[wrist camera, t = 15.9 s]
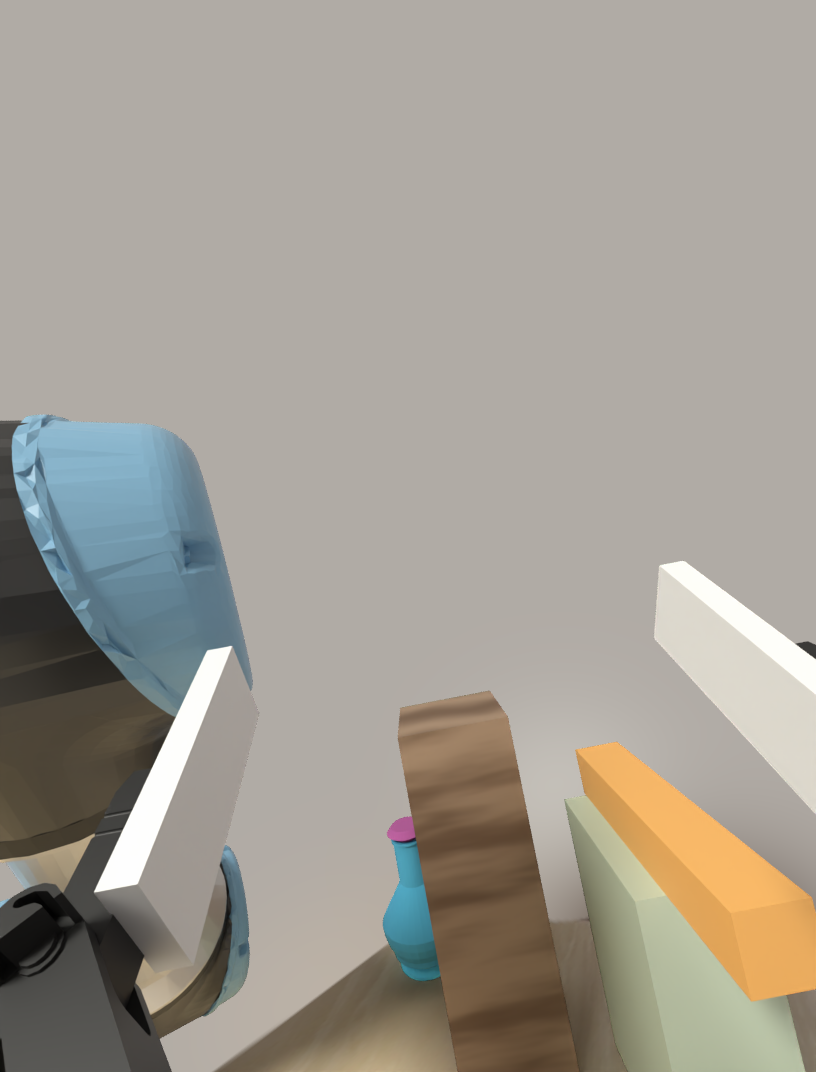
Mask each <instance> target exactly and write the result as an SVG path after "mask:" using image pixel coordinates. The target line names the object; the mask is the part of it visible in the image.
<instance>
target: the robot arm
mask: <svg viewBox="0 0 816 1072" xmlns="http://www.w3.org/2000/svg"><path fill="white" fill-rule="evenodd" d="M654 639H655V640H656V641H657V642H658V643H659V644H660V645H661V646H662V647H663V649H664V650H665V651H666V652H667V653H668V654H669V655H670V656H671V657H672V658H673V659H674V661H675V662H676V663H677V664H678V665H679V666H680V667H681V668H682V669H683V670H684V671H685V672H686V674H687V675H688V676H689V677H690V678H691V679H692V680H693V681H694V682H695V683H696V685H697V686H698V687H699V688H700V689H701V690H702V691H703V692H704V693H705V694H706V695H707V697H708V698H709V699H710V700H711V701H712V702H713V703H714V704H715V705H716V706H717V707H718V708H719V710H720V711H721V712H722V713H723V714H724V715H725V716H726V717H727V718H728V719H729V720H730V722H731V723H732V724H733V725H734V726H735V727H736V728H737V729H738V730H739V731H740V732H741V734H742V735H743V736H744V737H745V738H746V739H747V740H748V741H749V742H750V743H751V744H752V745H753V746H754V748H755V749H756V750H757V751H758V752H759V753H760V754H761V755H762V756H763V758H764V759H765V760H766V761H767V762H768V763H769V764H770V765H771V766H772V767H773V768H774V769H775V771H776V772H777V773H778V774H779V775H780V776H781V777H782V778H783V779H784V780H785V781H786V783H787V784H789V786H790V787H791V788H792V789H793V790H794V791H795V792H796V793H797V794H798V796H799V797H800V798H801V799H802V800H803V801H804V802H805V803H806V804H807V805H808V806H809V807H810V809H811V810H812V811H813V812H814V813H815V814H816V645H815V644H812V643H810V642H803V643H797V644H794V643H793V642H792V641H790V640H789V639H788V638H786V637H785V636H784V635H782V634H781V633H779V632H778V631H777V630H776V629H774V628H773V627H772V626H770V625H769V624H768V623H766V622H765V621H764V620H762V619H761V618H760V617H758V616H757V615H756V614H754V613H753V612H752V611H750V610H749V609H748V608H746V607H745V606H744V605H742V604H741V603H740V602H738V601H737V600H735V599H734V598H733V597H731V596H730V595H729V594H728V593H726V592H725V591H723V590H722V589H721V588H719V587H718V586H717V585H715V584H714V583H713V582H711V581H710V580H709V579H707V578H706V577H705V576H703V575H702V574H701V573H699V572H698V571H697V570H695V569H694V568H693V567H691V566H690V565H689V564H687V563H686V562H685V561H681V562H675V563H671V564H665V565H659V576H658V591H657V604H656V618H655V632H654ZM252 682H253V680H252V673H251V668H250V663H249V658H248V654H247V649H246V645H245V640H244V636H243V632H242V627H241V623H240V620H239V615H238V611H237V607H236V602H235V598H234V595H233V590H232V586H231V582H230V578H229V574H228V570H227V566H226V562H225V558H224V554H223V550H222V546H221V542H220V538H219V535H218V531H217V527H216V523H215V519H214V515H213V512H212V508H211V504H210V501H209V497H208V494H207V490H206V487H205V483H204V480H203V476H202V473H201V470H200V467H199V464H198V462H197V459H196V457H195V455H194V453H193V452H192V450H191V449H190V448H189V446H188V445H187V444H186V443H185V442H184V441H183V440H182V439H180V438H179V437H178V436H177V435H175V434H174V433H172V432H170V431H168V430H166V429H163V428H160V427H158V426H154V425H148V424H134V423H99V422H71V421H69V420H67V419H65V418H61V417H56V416H53V415H33V416H27V417H26V418H25V419H24V420H23V421H0V863H4V862H5V863H6V864H7V865H8V867H9V868H10V869H11V871H12V872H13V874H14V875H15V876H16V878H17V879H18V880H19V882H20V883H21V884H22V886H23V887H24V889H25V890H24V891H22V892H20V893H19V894H17V895H15V896H14V897H12V898H11V899H7V900H4V901H1V902H0V1072H172V1071H171V1069H170V1066H169V1063H168V1061H167V1058H166V1055H165V1053H164V1050H163V1048H162V1045H161V1042H160V1038H162V1037H164V1036H165V1035H167V1034H169V1033H171V1032H173V1031H175V1030H177V1029H178V1028H180V1027H182V1026H184V1025H186V1024H187V1023H189V1022H191V1021H193V1020H195V1019H197V1018H199V1017H201V1016H207V1015H209V1014H210V1013H212V1012H213V1011H215V1009H216V1008H217V1007H218V1006H219V1005H220V1004H222V1003H223V1002H225V1001H226V1000H228V999H229V998H231V997H233V996H234V995H235V994H236V993H237V992H238V991H239V990H240V988H241V987H242V986H243V984H244V981H245V979H246V976H247V972H248V967H249V954H250V952H249V943H248V937H249V926H248V925H249V924H248V914H247V906H246V898H245V893H244V887H243V882H242V877H241V873H240V869H239V865H238V862H237V859H236V857H235V855H234V853H233V852H232V851H231V848H230V847H228V846H227V845H225V843H226V838H227V835H228V831H229V827H230V824H231V820H232V816H233V812H234V808H235V804H236V800H237V797H238V793H239V789H240V785H241V781H242V778H243V774H244V770H245V766H246V762H247V758H248V755H249V750H250V747H251V743H252V739H253V735H254V732H255V728H256V724H257V720H258V716H259V712H258V709H257V706H256V704H255V701H254V699H253V696H252V695H251V689H252V684H253V683H252Z"/></svg>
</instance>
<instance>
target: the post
mask: <svg viewBox="0 0 816 1072" xmlns="http://www.w3.org/2000/svg"><path fill="white" fill-rule="evenodd" d="M398 742H399V748H400V753H401V759H402V764H403V769H404V775H405V781H406V787H407V792H408V798H409V803H410V809H411V814H412V820H413V825H414V831H415V837H416V842H417V848H418V853H419V859H420V864H421V870H422V875H423V881H424V887H425V892H426V898H427V903H428V909H429V914H430V920H431V925H432V931H433V937H434V942H435V948H436V953H437V959H438V964H439V970H440V975H441V981H442V987H443V992H444V998H445V1003H446V1009H447V1014H448V1020H449V1025H450V1031H451V1037H452V1042H453V1048H454V1053H455V1059H456V1064H457V1070H458V1072H579V1067H578V1062H577V1057H576V1052H575V1047H574V1042H573V1037H572V1032H571V1027H570V1022H569V1017H568V1012H567V1008H566V1003H565V998H564V993H563V988H562V983H561V978H560V973H559V968H558V963H557V958H556V953H555V948H554V943H553V938H552V933H551V928H550V923H549V918H548V913H547V908H546V903H545V899H544V894H543V889H542V884H541V879H540V874H539V869H538V864H537V859H536V854H535V850H534V844H533V839H532V834H531V829H530V825H529V819H528V814H527V810H526V804H525V800H524V794H523V790H522V784H521V780H520V775H519V770H518V765H517V760H516V755H515V750H514V745H513V740H512V735H511V730H510V725H509V720H508V716H507V715H506V713H505V712H504V711H503V709H502V708H501V706H500V705H499V704H498V702H497V701H496V699H495V698H494V696H493V695H492V694H491V692H490V691H485V692H480V693H475V694H470V695H464V696H459V697H454V698H449V699H444V700H438V701H433V702H428V703H423V704H418V705H412V706H407V707H402V708H400V718H399V730H398Z"/></svg>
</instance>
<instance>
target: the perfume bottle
mask: <svg viewBox="0 0 816 1072" xmlns="http://www.w3.org/2000/svg"><path fill="white" fill-rule="evenodd" d="M387 836H388V837H389V838H390V839H391V841H392V844H393V845H394V849H395V855H396V861H397V866H398V872H399V878H400V881H399V884H398V886H397V888H396V891H395V893H394V895H393V897H392V899H391V901H390V904H389V906H388V908H387V911H386V913H385V915H384V918H383V928H384V932H385V936H386V938H387V941H388V943H389V945H390V947H391V949H392V950H393V951H394V952H395V955H396V957H397V959H398V960H399V962H400V963H401V967H402V969H403V972H404V973H405V974H406V975H407V976H408V977H410V978H412V979H414V980H418V981H428V980H433V979H436V978H438V977H440V976H441V975H440V970H439V964H438V959H437V953H436V948H435V942H434V937H433V931H432V925H431V920H430V914H429V909H428V903H427V898H426V892H425V887H424V881H423V875H422V870H421V864H420V859H419V853H418V848H417V842H416V837H415V831H414V825H413V820H412V817H404V818H401V819H398V820H396V821H395V822H394V823H393V824H392V825H391V827H390V828H389V830H388V832H387Z"/></svg>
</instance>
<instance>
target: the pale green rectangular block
mask: <svg viewBox="0 0 816 1072" xmlns="http://www.w3.org/2000/svg"><path fill="white" fill-rule="evenodd" d="M565 805H566V810H567V815H568V820H569V825H570V829H571V834H572V838H573V844H574V849H575V853H576V858H577V863H578V868H579V872H580V877H581V882H582V887H583V891H584V896H585V901H586V906H587V910H588V916H589V920H590V925H591V930H592V935H593V939H594V944H595V949H596V954H597V959H598V963H599V968H600V973H601V978H602V982H603V987H604V992H605V997H606V1002H607V1006H608V1011H609V1016H610V1021H611V1025H612V1030H613V1035H614V1040H615V1044H616V1046H617V1048H618V1051H619V1053H620V1055H621V1058H622V1060H623V1062H624V1064H625V1067H626V1069H627V1071H628V1072H805V1068H804V1064H803V1060H802V1056H801V1052H800V1048H799V1044H798V1040H797V1035H796V1031H795V1027H794V1023H793V1019H792V1015H791V1011H790V1006H789V1002H788V998H787V995H783V996H778V997H773V998H768V999H763V1000H758V1001H753V1002H751V1001H750V999H749V998H748V997H747V996H746V994H745V993H744V992H743V991H742V989H741V988H740V987H739V986H738V984H737V983H736V982H735V981H734V979H733V978H732V977H731V976H730V974H729V973H728V972H727V971H726V969H725V968H724V967H723V966H722V964H721V963H720V962H719V961H718V959H717V958H716V957H715V956H714V954H713V953H712V952H711V951H710V949H709V948H708V947H707V946H706V944H705V943H704V942H703V941H702V939H701V938H700V937H699V936H698V934H697V933H696V932H695V931H694V929H693V928H692V927H691V926H690V924H689V923H688V922H687V921H686V919H685V918H684V917H683V916H682V914H681V913H680V912H679V911H678V909H677V908H676V907H675V906H674V904H673V903H672V902H671V901H670V899H669V898H668V897H667V896H666V894H665V893H664V892H663V891H662V889H661V888H660V887H659V886H658V884H657V883H656V882H655V881H654V879H653V878H652V877H651V876H650V874H649V873H648V872H647V871H646V869H645V868H644V867H643V866H642V864H641V863H640V862H639V861H638V859H637V858H636V857H635V856H634V854H633V853H632V852H631V851H630V849H629V848H628V847H627V846H626V844H625V843H624V842H623V841H622V839H621V838H620V837H619V836H618V834H617V833H616V832H615V831H614V829H613V828H612V827H611V826H610V824H609V823H608V822H607V821H606V819H605V818H604V817H603V816H602V814H601V813H600V812H599V811H598V809H597V808H596V807H595V806H594V804H593V803H592V802H591V801H590V799H589V798H588V797H587V796H586V795H585V796H580V797H575V798H570V799H565Z"/></svg>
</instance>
